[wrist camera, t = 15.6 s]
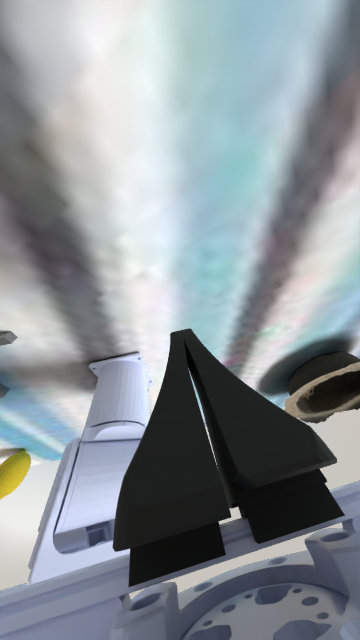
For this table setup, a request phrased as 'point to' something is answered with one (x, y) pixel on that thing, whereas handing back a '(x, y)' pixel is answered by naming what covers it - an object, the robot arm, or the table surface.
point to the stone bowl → (324, 387)
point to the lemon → (13, 472)
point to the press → (3, 340)
